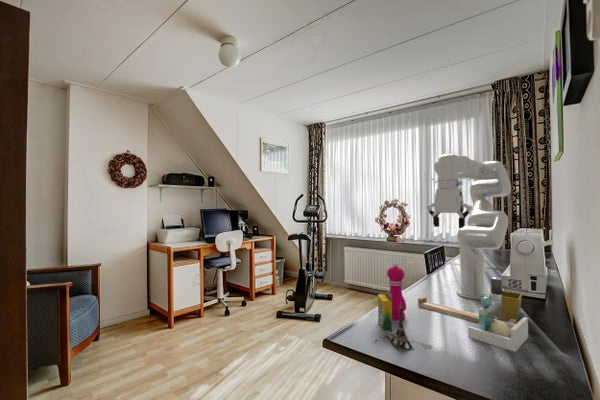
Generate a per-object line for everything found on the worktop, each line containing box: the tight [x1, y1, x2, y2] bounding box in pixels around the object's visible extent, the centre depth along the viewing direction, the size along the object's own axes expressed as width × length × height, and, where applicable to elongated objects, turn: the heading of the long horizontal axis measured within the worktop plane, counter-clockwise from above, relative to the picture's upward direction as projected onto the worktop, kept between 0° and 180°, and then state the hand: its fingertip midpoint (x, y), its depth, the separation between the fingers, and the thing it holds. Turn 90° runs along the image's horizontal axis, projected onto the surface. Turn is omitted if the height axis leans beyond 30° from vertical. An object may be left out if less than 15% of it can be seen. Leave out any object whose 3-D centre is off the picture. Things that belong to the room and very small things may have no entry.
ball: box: [490, 321, 511, 338], centre depth 88 cm, size 5×5×5 cm
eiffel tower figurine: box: [371, 301, 434, 351], centre depth 84 cm, size 15×10×13 cm
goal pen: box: [467, 316, 529, 353], centre depth 89 cm, size 14×12×6 cm
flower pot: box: [488, 290, 523, 322], centre depth 103 cm, size 9×9×9 cm
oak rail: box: [417, 296, 517, 324], centre depth 105 cm, size 4×32×3 cm, turn 39°
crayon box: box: [377, 289, 393, 332], centre depth 96 cm, size 7×3×12 cm, turn 178°
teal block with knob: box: [478, 276, 506, 332], centre depth 93 cm, size 16×4×15 cm, turn 129°
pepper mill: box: [386, 262, 407, 322], centre depth 104 cm, size 7×7×20 cm
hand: (448, 227), depth 115 cm, fingers open, 9 cm apart
